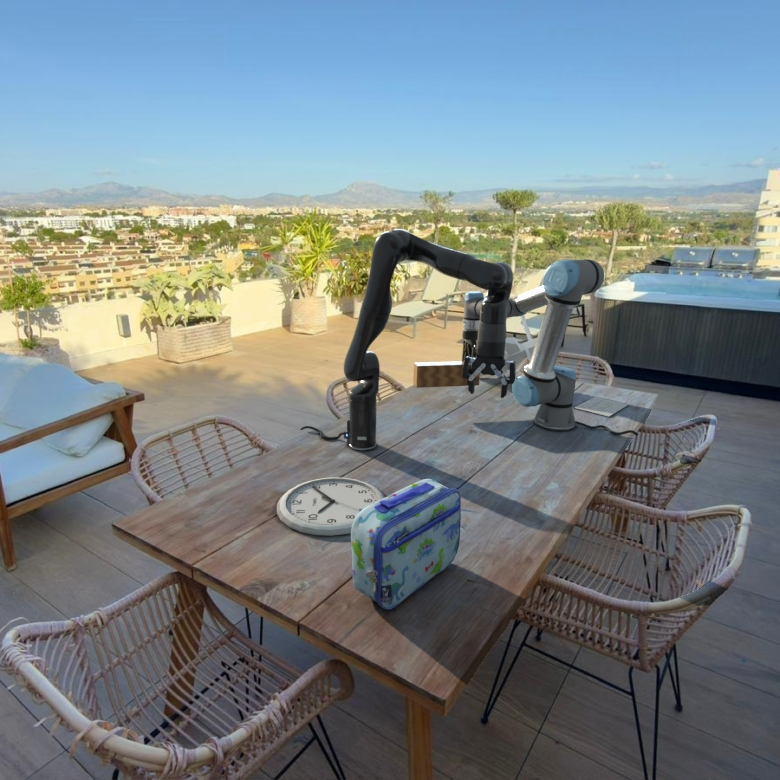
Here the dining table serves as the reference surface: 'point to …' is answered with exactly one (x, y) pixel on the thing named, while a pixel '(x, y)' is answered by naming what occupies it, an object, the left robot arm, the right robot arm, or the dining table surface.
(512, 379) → the left robot arm
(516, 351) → the white plastic object
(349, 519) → the wall clock
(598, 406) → the invitation card
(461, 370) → the bar
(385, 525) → the lunch box
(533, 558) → the dining table surface
